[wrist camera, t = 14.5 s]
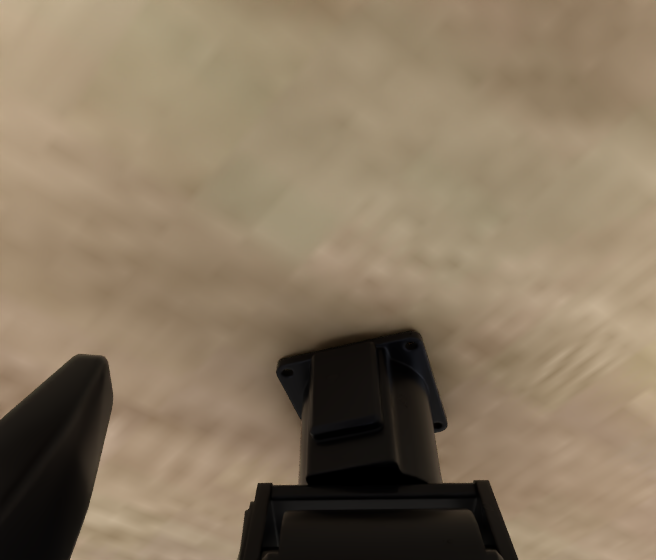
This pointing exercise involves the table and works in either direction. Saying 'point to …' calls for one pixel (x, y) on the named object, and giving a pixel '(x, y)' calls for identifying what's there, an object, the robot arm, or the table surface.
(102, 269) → the table surface
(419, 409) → the robot arm
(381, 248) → the table surface
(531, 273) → the table surface
